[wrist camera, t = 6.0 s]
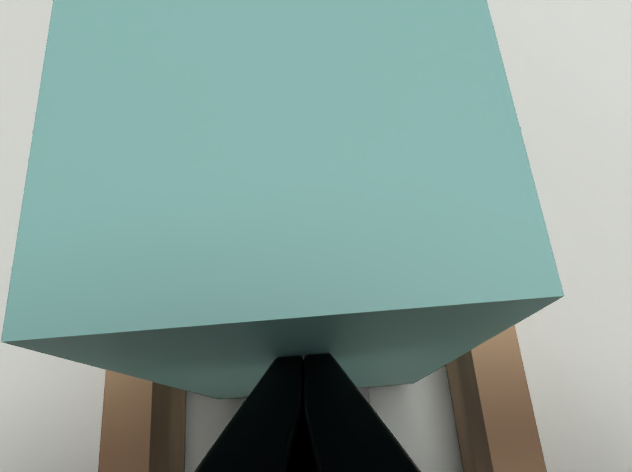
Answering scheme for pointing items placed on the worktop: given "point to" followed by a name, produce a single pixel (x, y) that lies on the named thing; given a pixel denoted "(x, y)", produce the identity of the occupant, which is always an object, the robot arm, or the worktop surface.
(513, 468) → the channel
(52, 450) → the worktop surface
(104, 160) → the block
